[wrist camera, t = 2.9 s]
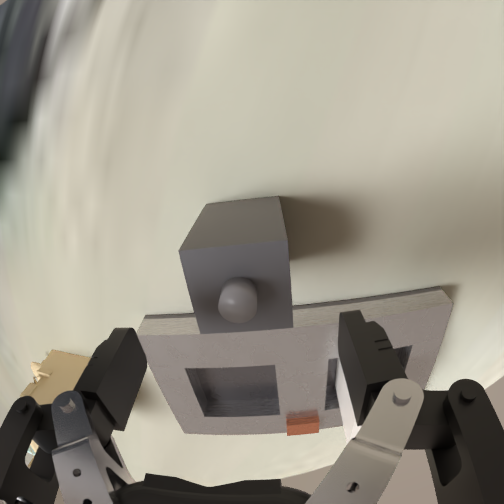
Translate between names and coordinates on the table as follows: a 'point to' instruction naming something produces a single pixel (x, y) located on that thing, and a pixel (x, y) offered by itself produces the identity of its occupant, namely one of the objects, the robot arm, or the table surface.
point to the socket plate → (282, 363)
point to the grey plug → (239, 267)
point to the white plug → (345, 404)
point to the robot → (54, 378)
